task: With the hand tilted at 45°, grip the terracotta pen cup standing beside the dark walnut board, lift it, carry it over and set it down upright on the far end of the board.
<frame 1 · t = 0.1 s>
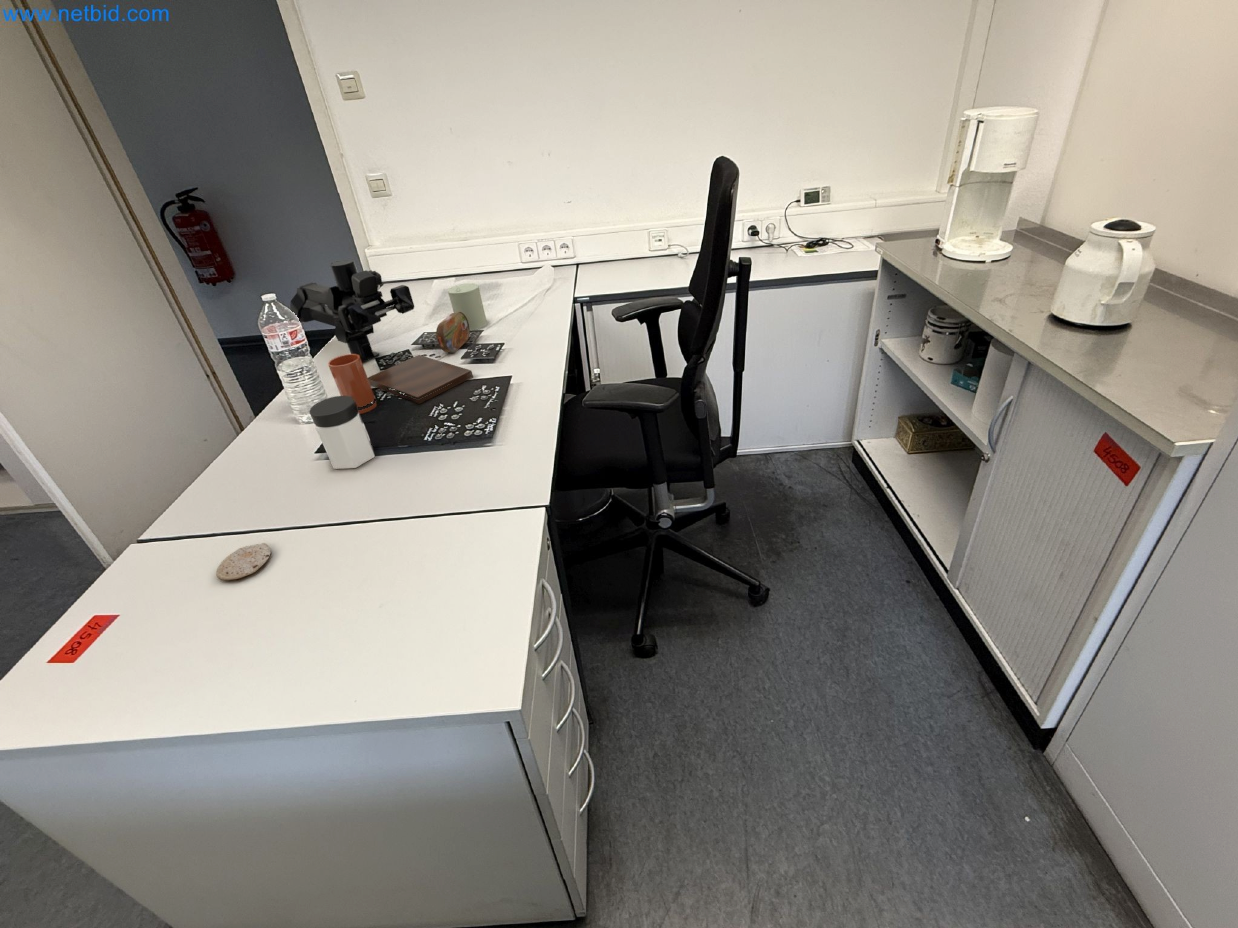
hand: (396, 312, 139), 17 cm above the table, tool horizontal, fingers open, 9 cm apart
flatbread: (246, 564, 92), on the table
tin: (457, 346, 163), on the table
board: (420, 380, 145), on the table
pen cup: (362, 407, 136), on the table
jar: (354, 458, 117), on the table
can: (472, 326, 176), on the table
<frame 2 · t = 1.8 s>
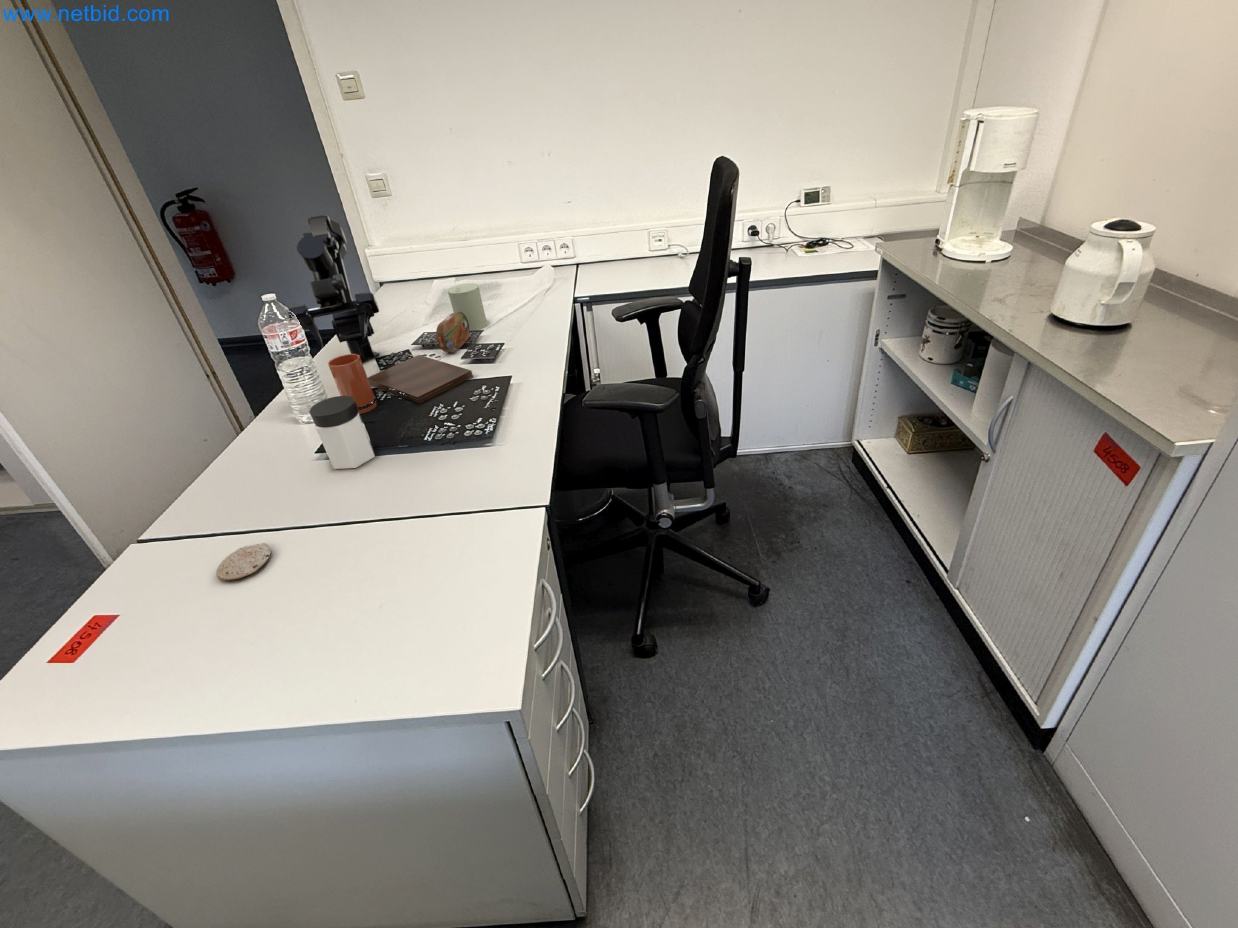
hand: (342, 342, 134), 14 cm above the table, tool tilted 45°, fingers open, 9 cm apart
nothing on the table moved.
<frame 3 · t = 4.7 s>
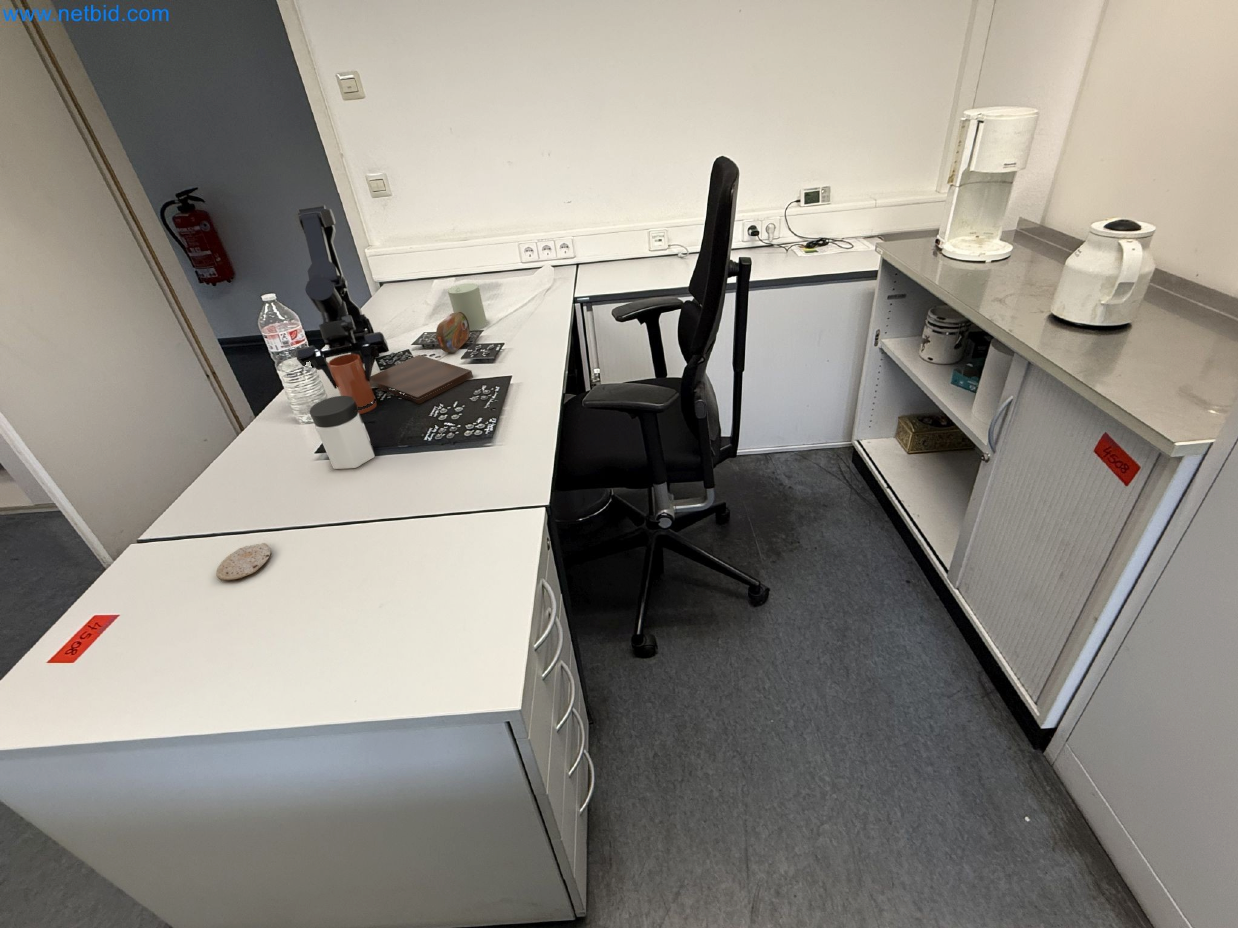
hand: (352, 384, 131), 7 cm above the table, tool tilted 45°, fingers closed on pen cup, 7 cm apart
pen cup: (362, 407, 136), on the table, touching gripper
everything else where it was.
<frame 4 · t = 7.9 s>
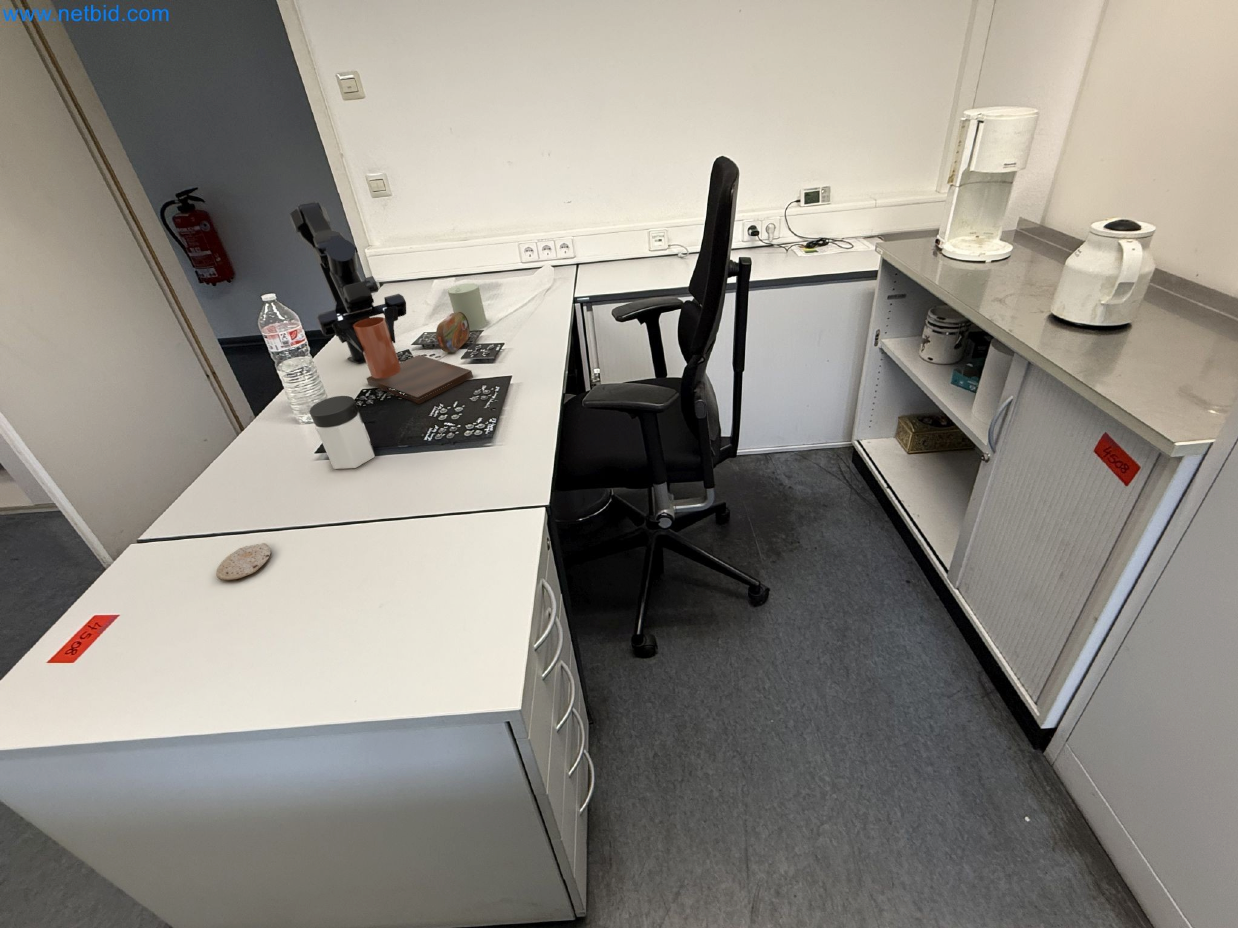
hand: (378, 347, 130), 13 cm above the table, tool tilted 45°, fingers closed on pen cup, 7 cm apart
pen cup: (386, 372, 135), point 7 cm above the table, touching gripper
everything else where it was.
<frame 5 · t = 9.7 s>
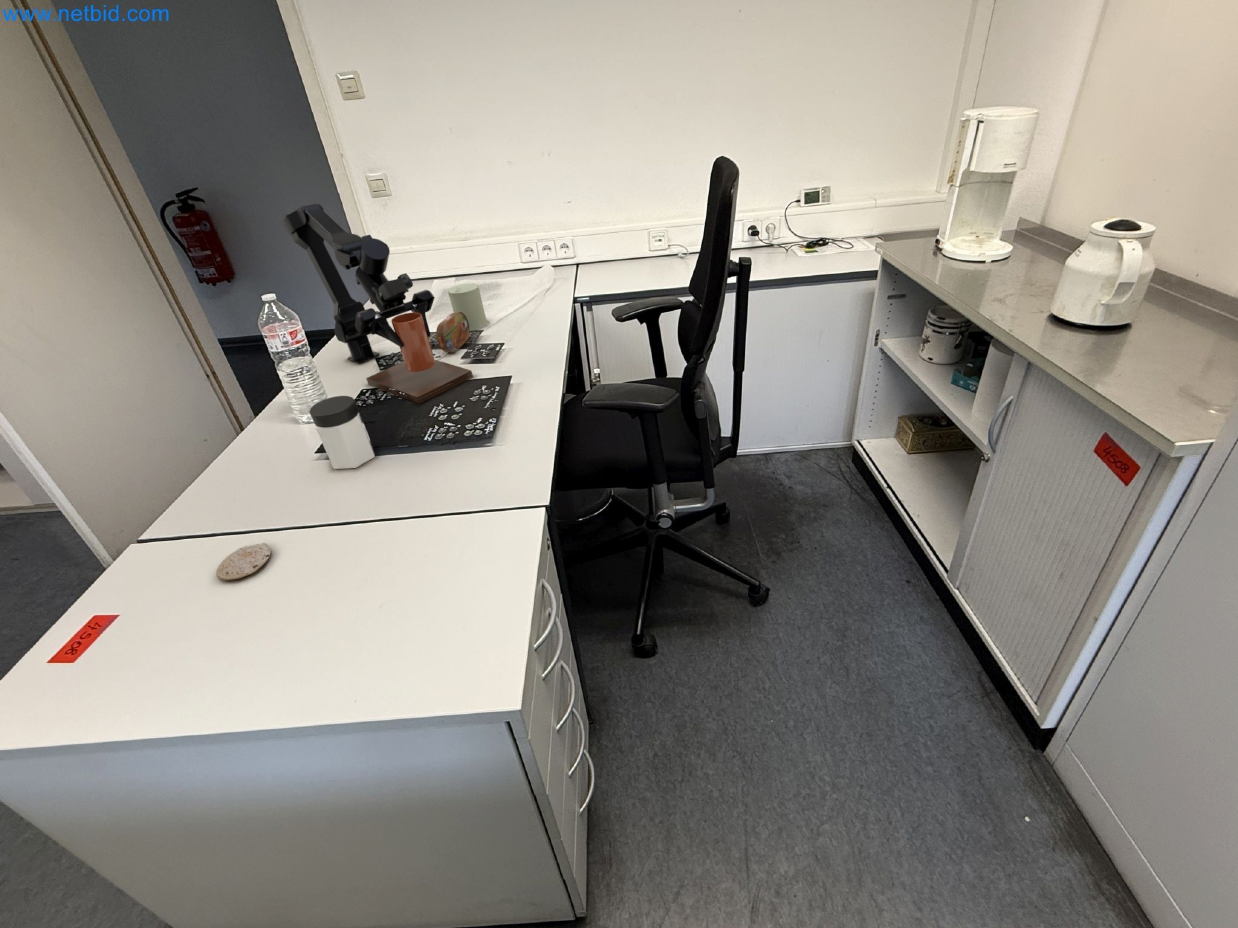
hand: (416, 341, 135), 12 cm above the table, tool tilted 45°, fingers closed on pen cup, 7 cm apart
pen cup: (421, 366, 139), point 5 cm above the table, touching gripper
everything else where it was.
when the fingers open (8 cm above the table, at t = 11.3 s): pen cup stays where it is, resting on board.
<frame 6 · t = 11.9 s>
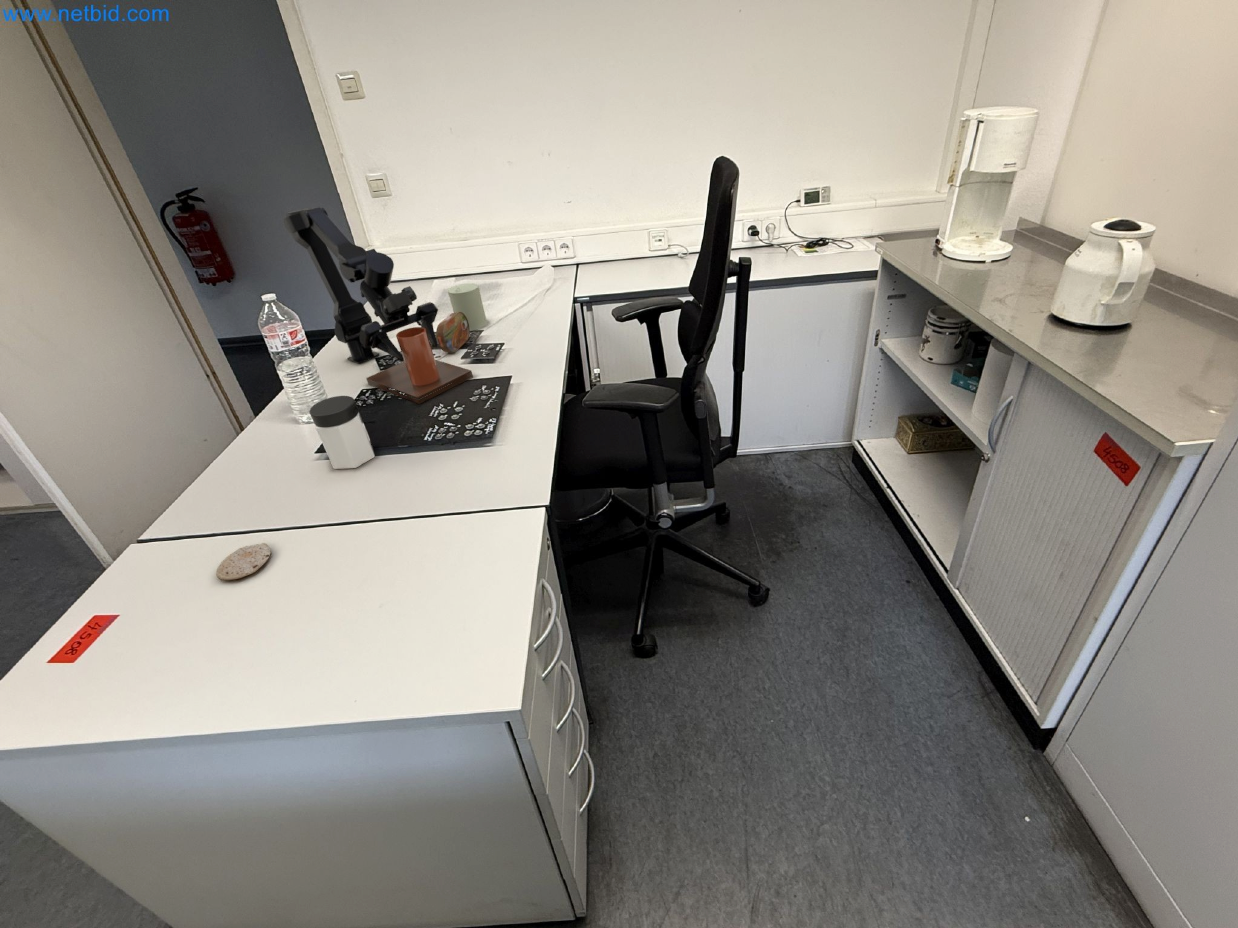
hand: (420, 353, 136), 9 cm above the table, tool tilted 45°, fingers open, 9 cm apart
pen cup: (425, 379, 141), point 2 cm above the table, touching board
everything else where it was.
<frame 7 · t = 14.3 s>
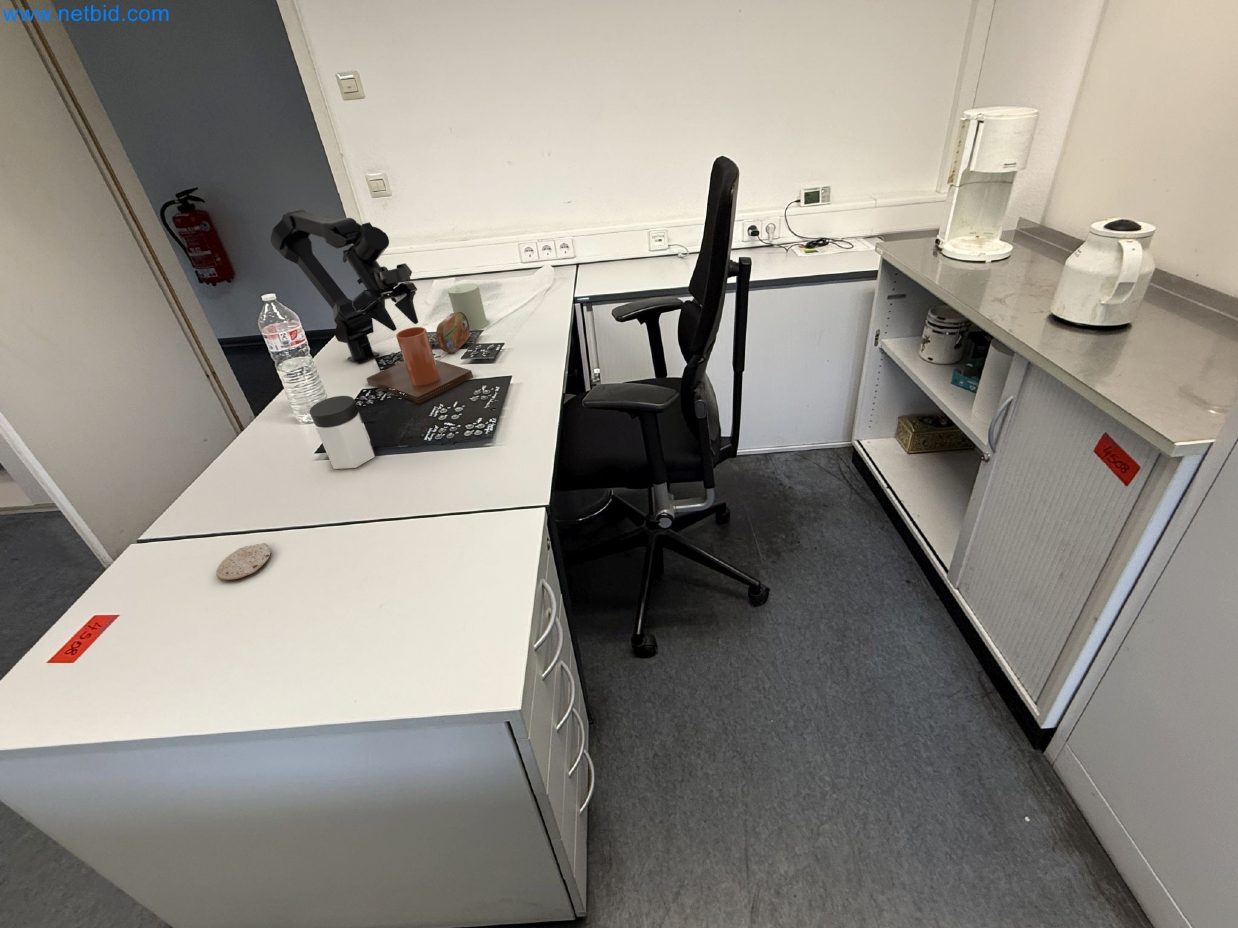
hand: (406, 326, 144), 12 cm above the table, tool tilted 30°, fingers open, 9 cm apart
nothing on the table moved.
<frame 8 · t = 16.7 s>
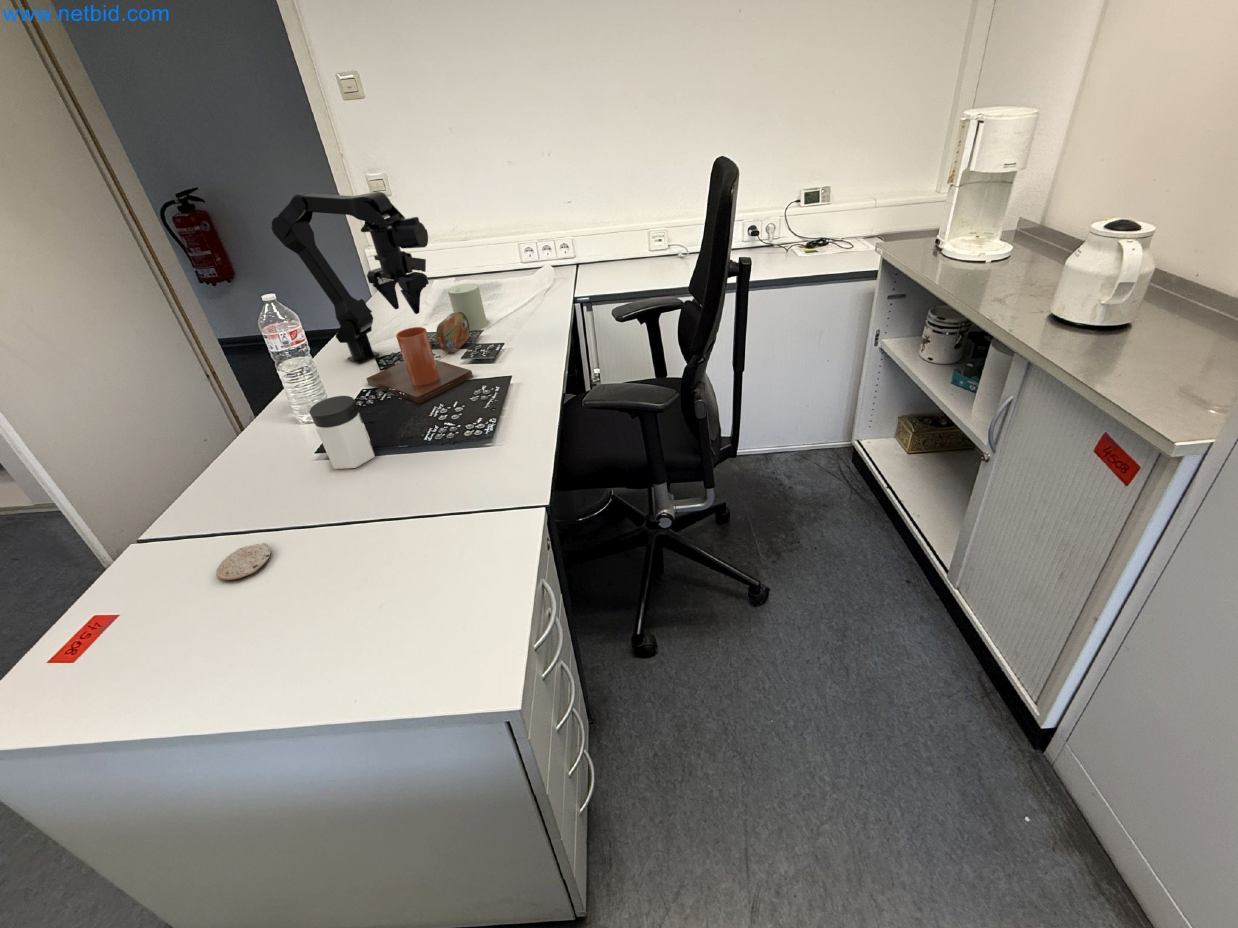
hand: (407, 311, 151), 13 cm above the table, tool pointing down, fingers open, 9 cm apart
nothing on the table moved.
at the end: pen cup inside the target area on the board (4.6 cm from its centre), point 1.8 cm above the board's base; pen cup tilted 0°; the gripper is holding nothing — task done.
